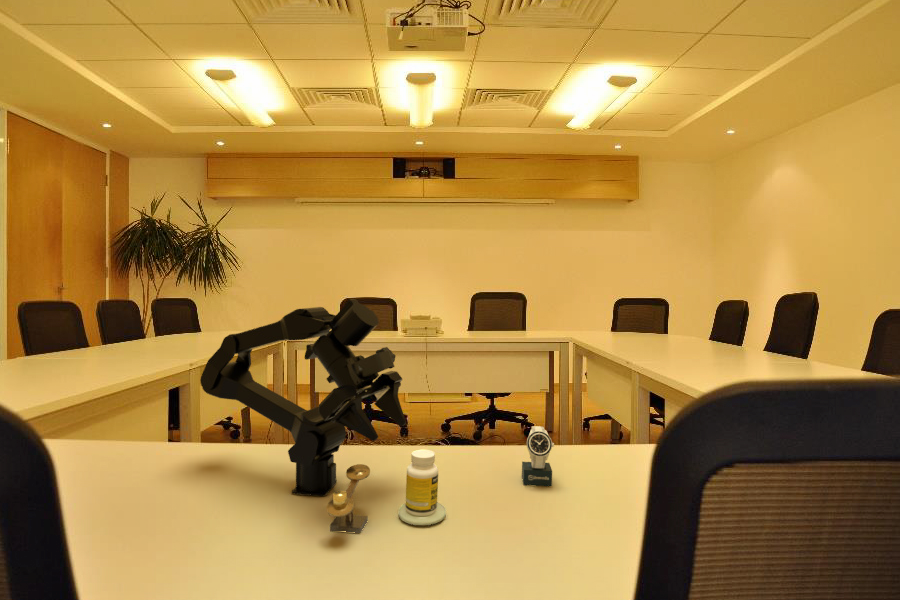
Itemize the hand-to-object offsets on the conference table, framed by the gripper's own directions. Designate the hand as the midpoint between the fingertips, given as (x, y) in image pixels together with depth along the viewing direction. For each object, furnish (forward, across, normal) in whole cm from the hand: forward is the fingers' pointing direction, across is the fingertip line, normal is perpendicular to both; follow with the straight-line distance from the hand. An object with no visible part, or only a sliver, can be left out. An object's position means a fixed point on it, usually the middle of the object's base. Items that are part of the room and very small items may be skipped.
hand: (390, 431), depth 88 cm
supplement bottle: (+14, 0, +4) cm, 14 cm away
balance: (+8, -9, +11) cm, 16 cm away
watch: (+24, +23, -5) cm, 34 cm away
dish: (+14, 0, +5) cm, 15 cm away
